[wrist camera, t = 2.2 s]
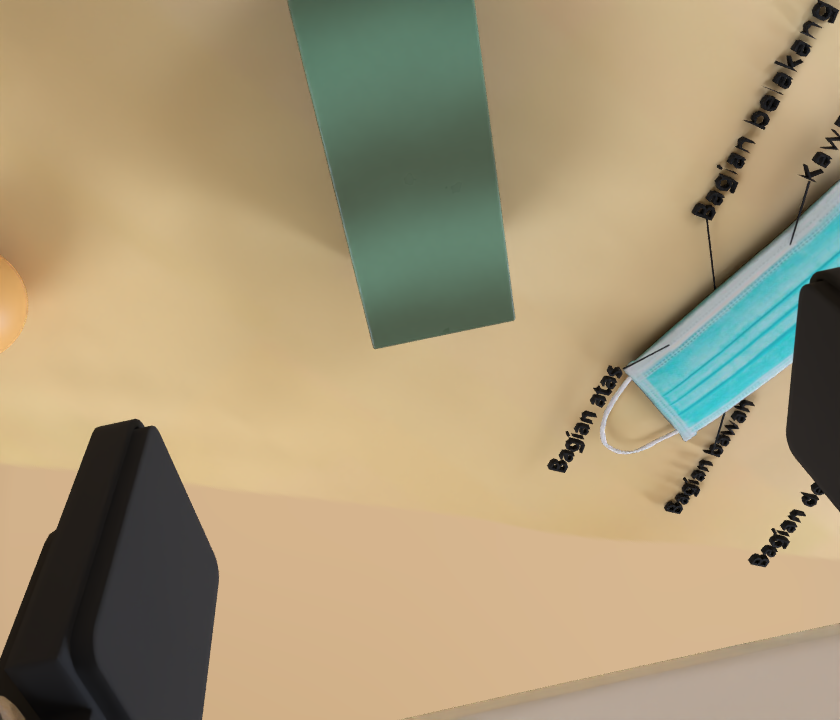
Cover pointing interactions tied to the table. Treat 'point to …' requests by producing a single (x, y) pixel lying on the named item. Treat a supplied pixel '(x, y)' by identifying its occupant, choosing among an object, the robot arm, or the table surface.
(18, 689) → the robot arm
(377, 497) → the table surface
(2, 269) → the figurine
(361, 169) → the teal sanding sponge
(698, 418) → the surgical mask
